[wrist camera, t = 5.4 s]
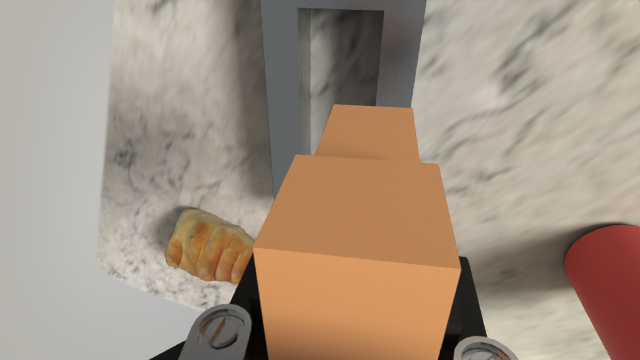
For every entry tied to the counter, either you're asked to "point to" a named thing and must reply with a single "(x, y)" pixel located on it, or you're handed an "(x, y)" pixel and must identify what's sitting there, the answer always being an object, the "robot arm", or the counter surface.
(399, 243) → the tall orange stepped block
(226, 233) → the pastry
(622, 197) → the counter surface
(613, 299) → the beer can
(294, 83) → the gray rectangular frame
